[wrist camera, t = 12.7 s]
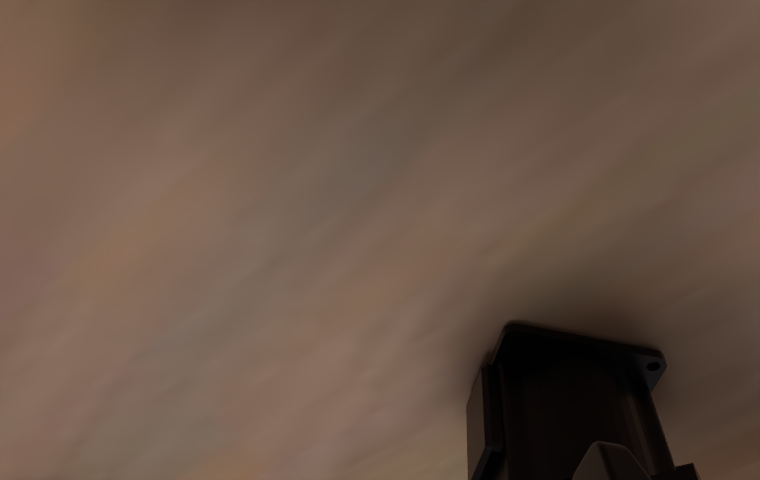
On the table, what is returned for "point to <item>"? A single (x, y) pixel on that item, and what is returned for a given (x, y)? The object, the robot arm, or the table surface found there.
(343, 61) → the table surface
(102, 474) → the table surface
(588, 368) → the robot arm
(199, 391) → the table surface
